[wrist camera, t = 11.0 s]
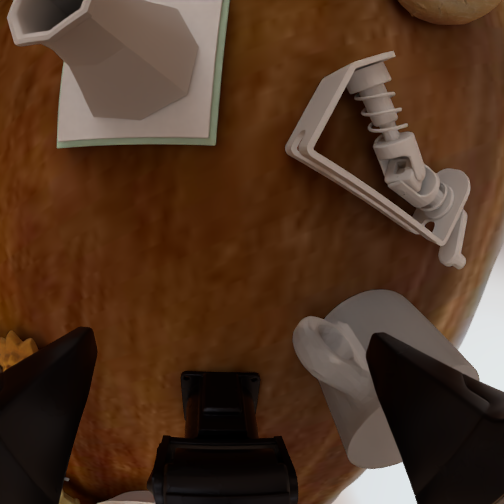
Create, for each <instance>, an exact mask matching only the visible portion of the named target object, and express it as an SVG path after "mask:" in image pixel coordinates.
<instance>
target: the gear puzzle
mask: <svg viewBox="0 0 504 504" xmlns="http://www.w3.org/2000/svg"><path fill="white" fill-rule="evenodd" d="M37 351H38V348H37V345H36V343H35V341H34V340H33V339H32V338H29V339H26V340H25V341H24V342H23V341H22V340H21V339H20V338H19V337H18V336H17V335H16V334H15V333H14V332H13V331H12V330H11V331H9V333H8V334H7V337H6V339H5V338H2V337H0V365H1V366H2V367H3V372H4V371H5V370H6V369H8V368H10V367H11V366H13V365H15V364H16V363H18V362H20V361H22V360H23V359H25V358H27V357H28V356H30V355H32V354H33V353H35V352H37ZM1 372H2V370H1V367H0V373H1Z"/></svg>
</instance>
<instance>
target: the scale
mask: <svg viewBox="0 0 504 504" xmlns="http://www.w3.org/2000/svg"><path fill="white" fill-rule="evenodd" d="M145 1H148V2H152V3H156V4H161V5H165V6H169V7H173V8H176V9H178V11H179V12H180V14H181V16H182V18H183V19H184V21H185V23H186V25H187V27H188V28H189V30H190V32H191V34H192V36H193V37H194V39H195V41H196V43H197V45H198V51H197V55H196V59H195V63H194V67H193V71H192V76H191V80H190V84H189V89H188V94H187V95H185V96H184V97H182V98H180V99H178V100H176V101H174V102H172V103H170V104H168V105H167V106H165V107H163V108H161V109H159V110H158V111H156V112H154V113H152V114H151V115H149V116H147V117H145V118H144V119H142V120H130V119H118V118H103V117H93V115H92V113H91V111H90V109H89V107H88V105H87V103H86V101H85V99H84V96H83V94H82V92H81V90H80V88H79V86H78V83H77V81H76V79H75V78H74V76H73V74H72V72H71V70H70V68H69V66H68V65H67V64H66V63H65V62H63V69H62V77H61V86H60V96H59V109H58V126H57V148H69V147H84V146H103V145H136V144H175V145H209V146H215V145H216V138H217V125H218V112H219V100H220V89H221V78H222V67H223V57H224V48H225V38H226V29H227V21H228V12H229V4H230V0H145Z"/></svg>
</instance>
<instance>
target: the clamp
mask: <svg viewBox="0 0 504 504" xmlns="http://www.w3.org/2000/svg"><path fill="white" fill-rule="evenodd" d="M393 57H395V54H394V52H393V51H391V52H386V53H382V54H379V55H376V56H372V57H369V58H366V59H362V60H359V61H356V62H353V63H351V64H349V65H347V66H345V67H343V68H341V69H339V70H338V71H336V72H334V73H332V74H330V75H328V76H326V77H325V78H323V79H322V80H321V82H320V84H319V86H318V87H317V89H316V91H315V93H314V95H313V97H312V98H311V100H310V102H309V104H308V106H307V107H306V109H305V111H304V113H303V115H302V117H301V118H300V120H299V122H298V124H297V126H296V128H295V129H294V131H293V133H292V135H291V137H290V139H289V140H288V142H287V144H286V146H285V151H286V153H287V154H288V155H289V156H291V157H293V158H295V159H296V160H298V161H300V162H302V163H303V164H305V165H307V166H308V167H310V168H312V169H314V170H315V171H317V172H319V173H320V174H322V175H324V176H325V177H327V178H328V179H330V180H332V181H333V182H335V183H337V184H338V185H340V186H341V187H343V188H345V189H346V190H348V191H349V192H351V193H352V194H354V195H355V196H357V197H359V198H360V199H362V200H363V201H365V202H366V203H368V204H369V205H371V206H372V207H374V208H375V209H377V210H378V211H380V212H381V213H383V214H384V215H385V216H387V217H388V218H390V219H391V220H393V221H394V222H396V223H397V224H398V225H400V226H401V227H403V228H404V229H406V230H408V231H410V232H412V233H414V234H421V235H422V236H423V237H425V238H426V239H427V240H429V241H431V242H434V243H436V244H438V245H440V249H439V254H438V257H439V260H440V262H441V263H442V264H444V265H445V266H454V267H456V268H457V269H461V268H463V267H464V265H465V263H466V258H465V257H464V256H463V255H462V254H461V250H462V244H463V239H464V234H465V228H466V222H467V213H466V211H465V210H464V209H463V207H464V205H465V202H466V200H467V198H468V195H469V192H470V181H469V178H468V177H467V175H466V174H465V173H464V172H462V171H460V170H455V169H449V168H448V169H443V170H441V171H439V172H438V173H437V174H436V173H435V172H434V171H433V170H432V169H430V168H429V167H428V166H427V165H425V164H424V163H423V160H422V157H421V154H420V151H419V148H418V145H417V142H416V139H415V136H414V134H413V133H412V132H402V133H399V132H398V129H402V128H405V127H407V126H408V124H407V123H406V124H402V125H399V126H396V124H395V121H396V120H397V118H398V116H397V112H400V111H402V108H396V109H394V106H393V104H392V101H391V99H390V98H391V97H393V96H394V95H395V92H387V90H386V88H385V86H384V83H385V82H388V81H390V80H391V77H390V75H389V73H388V71H387V69H386V67H385V65H384V63H383V61H386V60H388V59H391V58H393ZM346 87H347V89H348V91H349V93H350V94H354V93H357V92H359V93H357V94H356V95H355V96H354V99H355V100H360V101H361V100H362V101H363V103H364V105H365V108H364V109H363V110H362V111H361V114H362V115H363V116H368V117H370V118H371V121H372V122H371V123H370V124H369V126H368V130H369V131H370V132H375V133H378V132H382V134H381V135H380V136H378V137H377V138H376V139H375V141H374V144H373V149H374V151H375V154H376V156H377V159H378V161H379V163H380V166H381V169H382V171H383V174H384V177H385V179H384V180H385V182H386V183H387V184H388V187H389V188H390V189H392V190H393V191H394V192H395V193H397V194H398V195H400V196H401V197H402V198H404V199H405V200H406V201H407V202H409V203H410V204H411V205H412V206H414V207H416V210H415V212H414V214H413V216H412V217H411V216H410V215H408V214H407V213H406V212H404V211H403V210H402V209H400V208H399V207H398V206H396V205H395V204H394V203H392V202H391V201H389V200H388V199H387V198H385V197H384V196H382V195H381V194H380V193H378V192H377V191H375V190H374V189H372V188H371V187H370V186H368V185H367V184H365V183H364V182H362V181H361V180H359V179H358V178H356V177H355V176H353V175H352V174H350V173H349V172H347V171H346V170H344V169H343V168H341V167H340V166H338V165H336V164H335V163H333V162H332V161H330V160H329V159H327V158H325V157H324V156H322V155H320V154H319V153H317V152H316V151H314V146H315V144H316V142H317V140H318V138H319V136H320V135H321V133H322V131H323V129H324V127H325V125H326V123H327V121H328V120H329V118H330V116H331V114H332V112H333V110H334V108H335V106H336V105H337V103H338V101H339V99H340V97H341V95H342V93H343V91H344V90H345V88H346ZM359 96H361V97H359ZM366 111H367V112H368V113H365V112H366ZM373 125H374V126H376V127H378V126H379V127H380V129H372V128H371V127H372V126H373ZM383 137H384V138H383ZM302 138H303V139H302ZM381 138H382V139H381ZM301 139H302V141H301ZM300 141H301V142H300ZM299 143H300V144H299ZM298 145H299V151H298V150H297V147H298ZM430 221H432V222H434V223H435V227H434V230H433V232H430V231H429V230H428V229H427V228H425V227H424V226H425V225H426V223H428V222H430Z"/></svg>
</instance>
